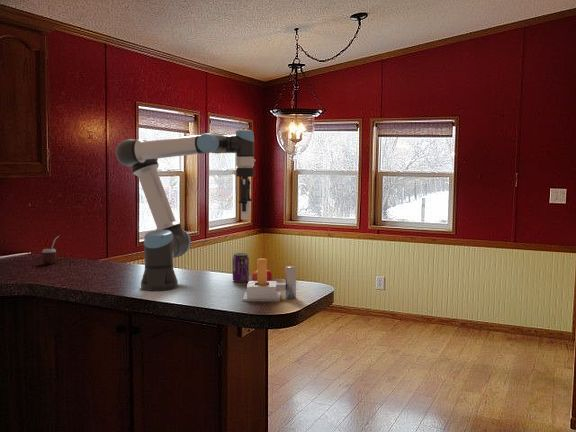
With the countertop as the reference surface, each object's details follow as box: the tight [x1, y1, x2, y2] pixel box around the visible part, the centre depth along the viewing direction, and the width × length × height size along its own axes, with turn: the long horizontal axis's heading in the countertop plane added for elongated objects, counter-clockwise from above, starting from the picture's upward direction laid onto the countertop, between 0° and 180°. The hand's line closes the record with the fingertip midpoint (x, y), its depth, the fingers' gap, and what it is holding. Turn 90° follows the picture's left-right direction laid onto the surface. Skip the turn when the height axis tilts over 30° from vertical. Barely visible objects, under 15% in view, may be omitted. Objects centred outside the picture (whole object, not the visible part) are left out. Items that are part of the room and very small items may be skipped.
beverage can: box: [232, 252, 250, 283], centre depth 264 cm, size 7×7×12 cm
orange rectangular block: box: [256, 258, 268, 285], centre depth 231 cm, size 4×4×14 cm
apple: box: [251, 269, 273, 281], centre depth 250 cm, size 8×8×10 cm
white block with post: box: [242, 265, 297, 302], centre depth 231 cm, size 20×12×12 cm, turn 90°
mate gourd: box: [41, 235, 60, 266], centre depth 309 cm, size 8×8×15 cm
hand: (245, 218), depth 253 cm, fingers open, 13 cm apart
